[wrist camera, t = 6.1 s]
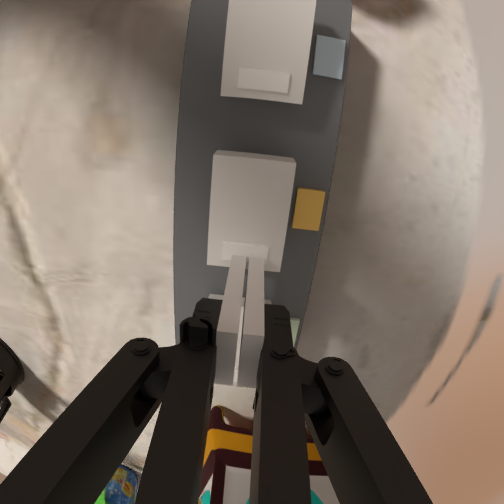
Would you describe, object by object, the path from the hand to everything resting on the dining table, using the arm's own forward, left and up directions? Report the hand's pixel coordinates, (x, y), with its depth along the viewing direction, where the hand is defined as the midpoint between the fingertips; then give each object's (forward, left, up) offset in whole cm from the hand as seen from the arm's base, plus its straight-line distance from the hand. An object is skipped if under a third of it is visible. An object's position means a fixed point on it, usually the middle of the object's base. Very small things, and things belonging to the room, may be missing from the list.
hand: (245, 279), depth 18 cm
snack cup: (+45, -18, -7) cm, 49 cm away
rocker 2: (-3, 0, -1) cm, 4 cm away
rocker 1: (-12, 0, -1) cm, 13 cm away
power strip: (-6, 0, -7) cm, 10 cm away
